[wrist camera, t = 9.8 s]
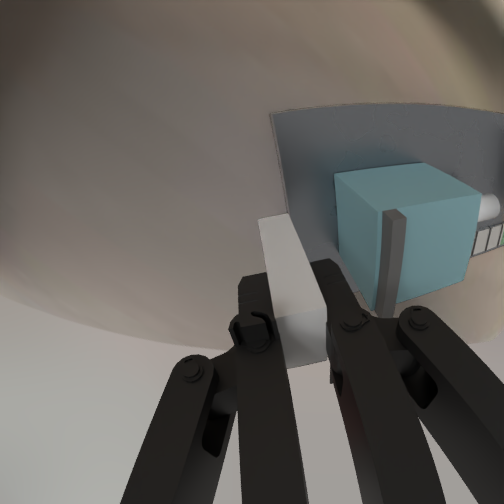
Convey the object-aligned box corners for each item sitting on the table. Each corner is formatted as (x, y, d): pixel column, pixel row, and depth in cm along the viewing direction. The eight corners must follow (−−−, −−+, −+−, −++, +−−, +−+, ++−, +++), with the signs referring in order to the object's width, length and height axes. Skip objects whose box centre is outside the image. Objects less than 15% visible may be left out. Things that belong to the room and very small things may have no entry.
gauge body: (338, 254, 16) (377, 323, 11) (333, 173, 13) (387, 221, 8) (467, 224, 15) (517, 267, 10) (474, 159, 13) (536, 192, 8)
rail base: (298, 293, 19) (322, 379, 13) (269, 113, 13) (300, 123, 6) (527, 227, 17) (567, 262, 11) (540, 122, 11) (591, 146, 5)
